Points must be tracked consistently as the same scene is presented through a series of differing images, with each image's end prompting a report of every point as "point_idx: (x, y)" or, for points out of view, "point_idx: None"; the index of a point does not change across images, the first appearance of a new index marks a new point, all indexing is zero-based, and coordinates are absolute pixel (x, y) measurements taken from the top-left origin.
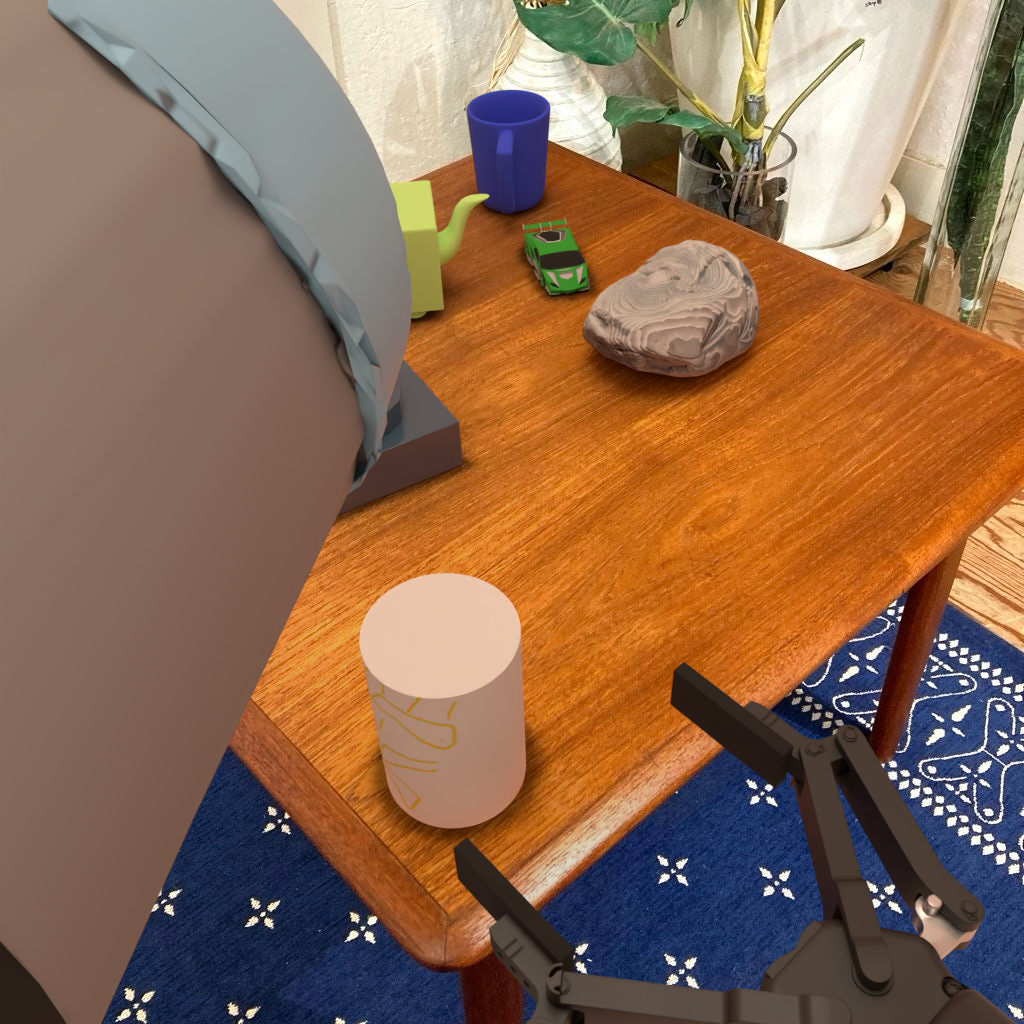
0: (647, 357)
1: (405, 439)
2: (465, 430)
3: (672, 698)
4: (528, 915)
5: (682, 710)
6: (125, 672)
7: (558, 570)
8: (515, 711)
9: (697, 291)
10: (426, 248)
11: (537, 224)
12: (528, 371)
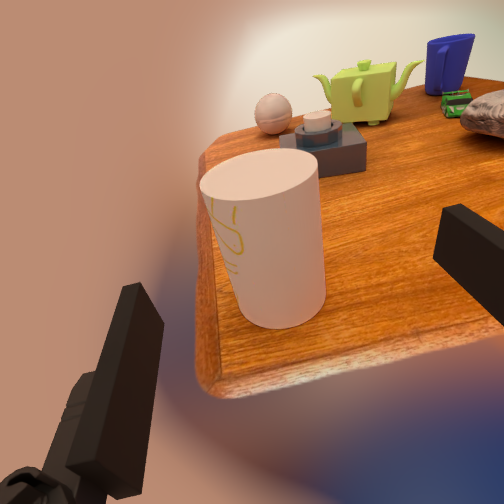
0: (501, 124)
1: (334, 146)
2: (374, 159)
3: (436, 250)
4: (102, 379)
5: (444, 264)
6: None
7: (397, 217)
8: (299, 246)
9: None
10: (383, 83)
11: (451, 92)
12: (421, 142)
